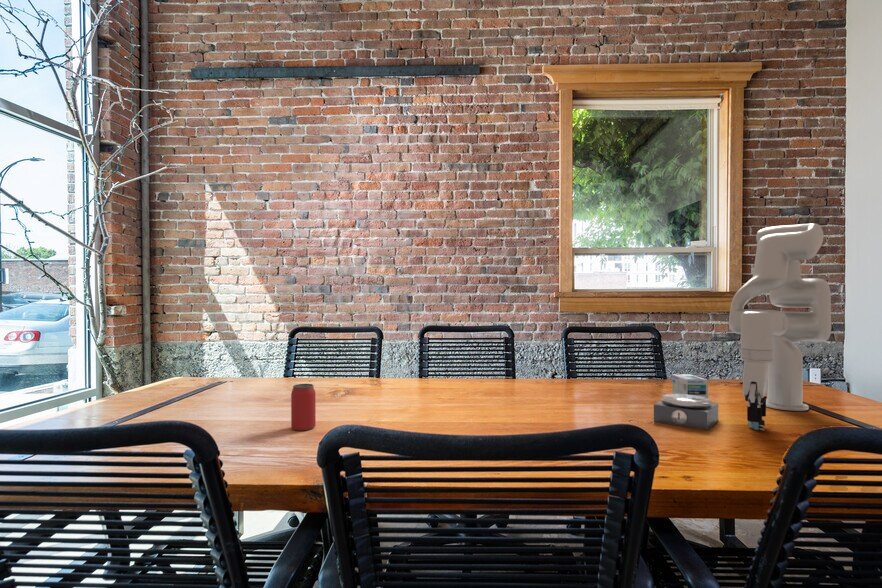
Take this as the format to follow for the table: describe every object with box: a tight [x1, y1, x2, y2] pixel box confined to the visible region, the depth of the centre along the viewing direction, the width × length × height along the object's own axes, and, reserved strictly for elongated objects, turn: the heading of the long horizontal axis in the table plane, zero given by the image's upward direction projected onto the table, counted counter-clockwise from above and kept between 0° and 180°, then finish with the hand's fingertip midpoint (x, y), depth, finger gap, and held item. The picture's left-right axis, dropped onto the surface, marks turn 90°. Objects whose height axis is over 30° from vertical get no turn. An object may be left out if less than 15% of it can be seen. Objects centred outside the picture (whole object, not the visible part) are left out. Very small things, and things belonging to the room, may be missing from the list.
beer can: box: [290, 383, 317, 432], centre depth 132 cm, size 7×7×12 cm
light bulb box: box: [671, 373, 709, 399], centre depth 153 cm, size 11×7×11 cm, turn 179°
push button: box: [744, 394, 767, 431], centre depth 131 cm, size 7×5×10 cm
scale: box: [653, 399, 719, 431], centre depth 139 cm, size 15×14×5 cm
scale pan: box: [661, 393, 712, 408], centre depth 139 cm, size 13×13×1 cm
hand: (756, 418), depth 131 cm, fingers open, 7 cm apart
